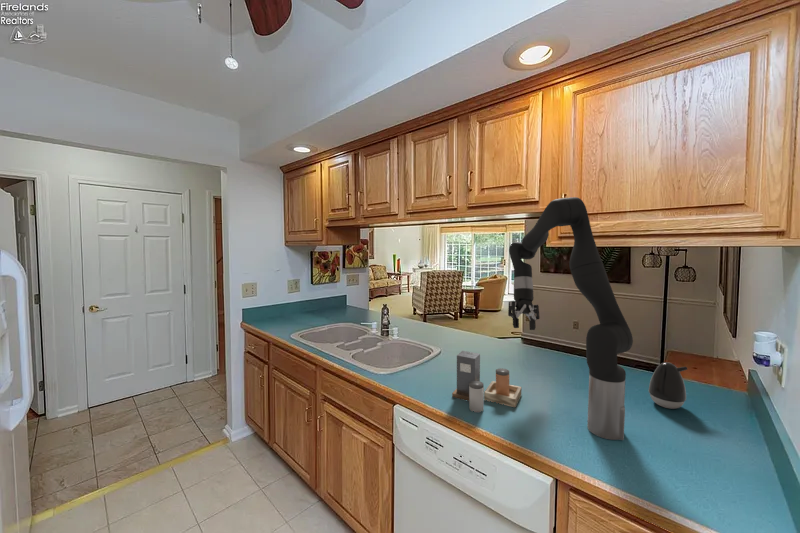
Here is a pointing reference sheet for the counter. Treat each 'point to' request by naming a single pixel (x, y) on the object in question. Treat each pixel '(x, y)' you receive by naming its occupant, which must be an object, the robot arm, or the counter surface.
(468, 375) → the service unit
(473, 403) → the cylinder
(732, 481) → the counter surface
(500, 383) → the cylinder
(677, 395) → the pump dispenser
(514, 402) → the tray
